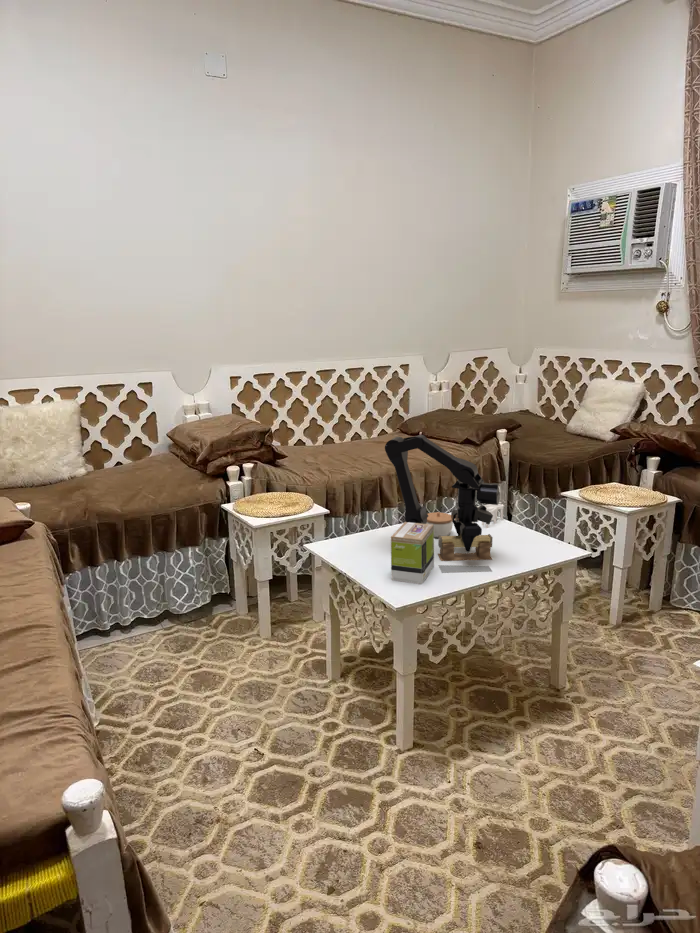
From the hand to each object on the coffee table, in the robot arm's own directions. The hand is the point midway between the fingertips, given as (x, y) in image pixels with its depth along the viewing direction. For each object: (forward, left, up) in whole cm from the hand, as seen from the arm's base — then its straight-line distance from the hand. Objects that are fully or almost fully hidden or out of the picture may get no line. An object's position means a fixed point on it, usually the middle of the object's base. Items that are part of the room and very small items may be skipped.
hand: (465, 547), depth 215 cm
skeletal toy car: (+14, +33, -4) cm, 36 cm away
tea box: (-19, -12, -4) cm, 23 cm away
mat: (-2, -9, -4) cm, 10 cm away
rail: (0, 0, 0) cm, 0 cm away
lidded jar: (-5, +22, -4) cm, 23 cm away
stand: (0, 0, -4) cm, 4 cm away
